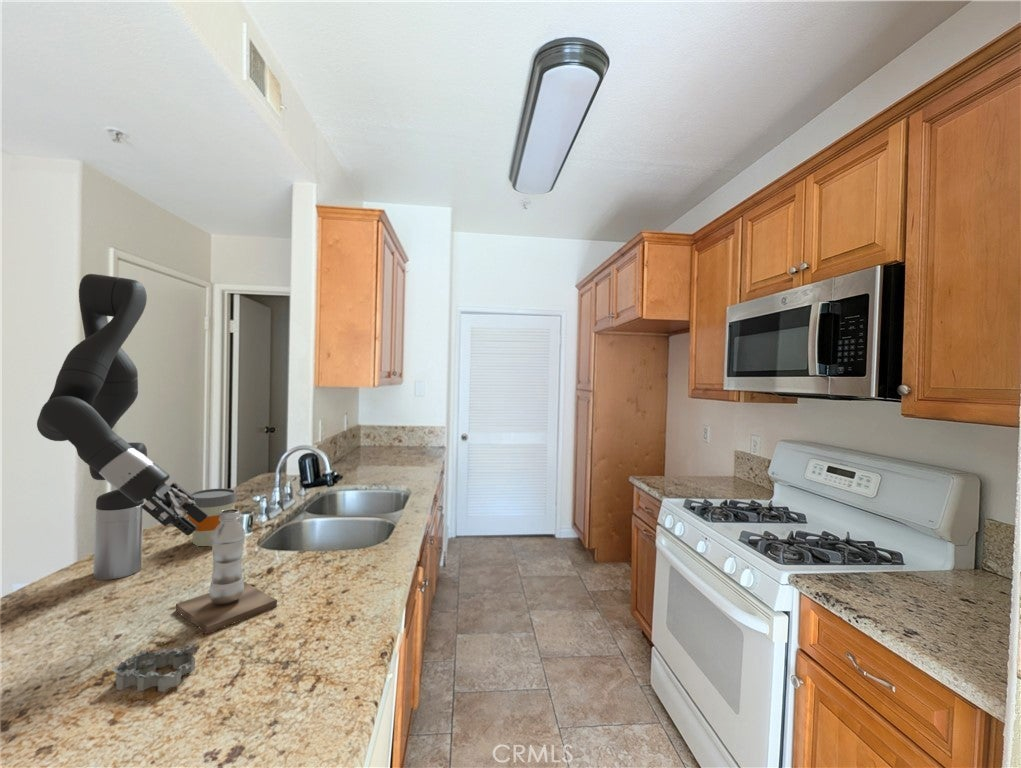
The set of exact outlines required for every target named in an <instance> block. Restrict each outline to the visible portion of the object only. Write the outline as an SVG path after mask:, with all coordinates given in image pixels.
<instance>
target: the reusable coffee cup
mask: <svg viewBox="0 0 1021 768" xmlns="http://www.w3.org/2000/svg"><path fill="white" fill-rule="evenodd" d="M190 494H191V495H192V496H193V497H195V499H196V500H195V503H196V504H195V505H197V506H198V507H199V508H200V509H202V510H203V511H204V512H205V513H207V515H208V516H207V517H206V518H205V519H204V520H203V521H202V522H200V523H198V522H197V521H196V520H194V519H193V518H192V517H191V516H189V515H188V514H187V515H188V520H190V521H191V522H192V523H193V524H195V525H196V526H197V529H196V530H195V531H194V532H193V533H191V535H192V542H193V545H194V544H195V545H197V546H196V547H198V546H209V547H212V542H211V536H212V533H213V531H214V530H215V529H216V527H217V526H218V525H219V524H220V521H219V518H220V512H221V511H223V510H228V509H236V508H235V504H236V501H237V492H236V490H235V489H234V488H233V489H232V488H220V487H219V488H209V489H202V490H198V491H194V492H191V493H190ZM195 545H194V546H195Z"/></svg>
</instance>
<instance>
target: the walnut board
mask: <svg viewBox="0 0 1021 768" xmlns="http://www.w3.org/2000/svg"><path fill="white" fill-rule="evenodd" d="M243 582H244V589H243V594H242V595H241V597H240V598H239V599H238V600H236V601H234V602H232V603H228V604H214V603H213V602H212V601H211V600H210V596H209V592H207V593H204V594H201V595H198V596H196V597H192V598H189V599H187V600H184V601H181V602H177V603H175V612H177V611H178V612H179V613H180V615H181V614H182V615H183V616H184V617H183V616H182V615H181V616H182V617H183V618H185V617H186V618H187V619H189V620H190V621H192V622H193V623H194V624H196V625H197V626H198V627H200V628H201V629H202V630H203V631H204V632H203V631H202V630H201V629H200V630H201V631H202V632H203V633H205V632H206V633H209V634H211V633H210V632H212V631H214V632H216V631H215V630H217V629H219V628H222V627H224V626H227V625H229V624H232V623H234V622H237V621H239V620H242V621H244V620H246V619H248V618H247V617H249V618H251V617H254V616H257V615H259V614H261V613H264V612H266V611H268V610H271V609H274V608H276V607H277V606H278V604H277V603H278V600H277V598H274V597H273V596H271V595H269V594H267V593H266V592H264V591H262V590H260V589H259V588H257V587H256V586H255V587H254V586H253V585H251V584H249V583H247V582H245V581H244V580H243ZM178 612H177V613H178ZM179 613H178V614H179ZM258 613H259V614H258ZM253 615H254V616H253ZM186 618H185V619H186ZM245 618H246V619H245ZM187 619H186V620H187ZM243 619H244V620H243ZM189 620H188V621H189ZM190 621H189V622H190ZM239 622H240V621H239ZM193 623H192V624H193ZM237 623H238V622H237ZM194 624H193V625H194ZM234 624H235V623H234ZM232 625H233V624H232ZM197 626H196V627H197ZM229 626H230V625H229ZM198 627H197V628H198ZM227 627H228V626H227ZM224 628H225V627H224ZM222 629H223V628H222ZM219 630H220V629H219ZM217 631H218V630H217ZM206 633H205V634H206ZM212 633H213V632H212Z"/></svg>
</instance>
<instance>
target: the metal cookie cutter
mask: <svg viewBox="0 0 1021 768" xmlns="http://www.w3.org/2000/svg"><path fill="white" fill-rule="evenodd" d="M199 650H200V645H195V644H192V645H191V644H187V645H183V646H182V648H177V647H175V648H173V649H159V650H156V651H155V650H153V651H151V652H149V651H148V650H145V649H143V650H140V652H139V653H138V654H136V653H134V654H132V656H131V657H128V658H126V659H125V660H124V661H120V663H118V664H119V665H117V666H114V667H111V668H110V670H112V671H113V672H114V673H116V674H115V685H116V686H115V687H116V688H115V689H116V690H117V691H122V690H125V689H127V688H129V687H133V686H137V687H136V690H137V691H141V692H143V691H146V690H147V689H149V688H152V687H153V688H154V687H157V692H165V691H167V690H169V689H171V688H170V687H172V688H175V687H178V686H179V685H181V683H182V675H183V676H185V675H188V674H187V673H191V672H192V671H193V670H194V669H195V670H196V658H195V657H194V655H196V654H197V653H198V651H199ZM167 666H172V668H173V669H176V670H175V671H170V672H166V673H164V674H161V673H160V672H156V669H161V668H165V667H167ZM177 668H179V669H177ZM195 670H194V671H195ZM194 671H193V672H194ZM193 672H192V673H193ZM192 673H191V674H192ZM184 674H185V675H184ZM178 684H179V685H178ZM177 685H178V686H177ZM174 686H175V687H174ZM168 688H169V689H168ZM166 689H167V690H166Z"/></svg>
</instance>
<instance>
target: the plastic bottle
mask: <svg viewBox="0 0 1021 768" xmlns="http://www.w3.org/2000/svg"><path fill="white" fill-rule="evenodd" d="M239 520H240V510H239V509H236V508H235V509H228V510H223V511H221V512H220V518H219V521H220V524H219V525H218V526H217V527H216V529H215V530H214V531H213V533H212V536H211V542H212V546H211V549H212V557H213V558H212V565H213V566H212V574H211V575H212V576H211V582H210V585H209V591H208V593H209V596H210V600H211V601H212V602H213V603H214V604H228V603H232V602H234V601H236V600H238V599H239V598H240V597H241V595H242V594H243V589H244V582H245V581H244V578H243V569H242V568H243V567H242V566H243V565H242V559H243V558H242V557H243V550H244V545H245V538H246V530H245V528H244V527H243V525H242V524H241V523H240V522H239ZM243 581H244V582H243Z"/></svg>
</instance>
